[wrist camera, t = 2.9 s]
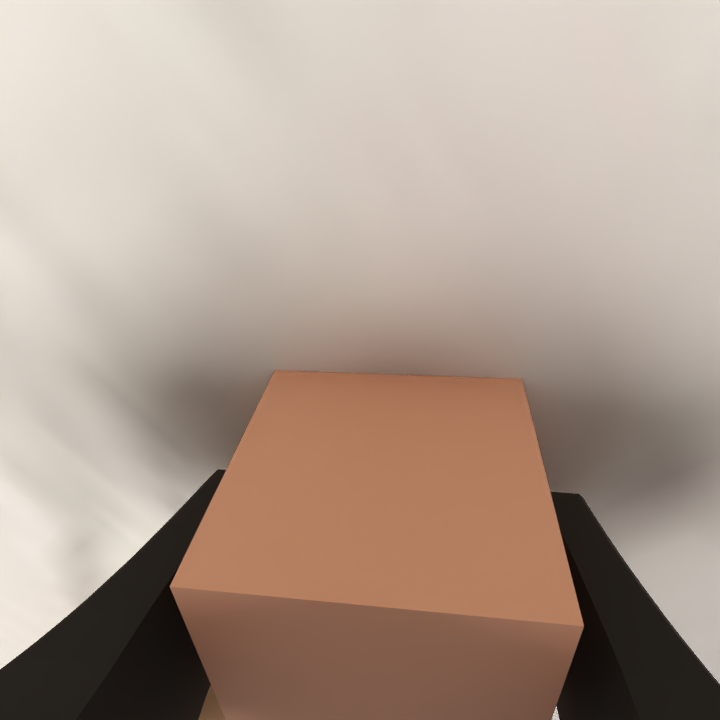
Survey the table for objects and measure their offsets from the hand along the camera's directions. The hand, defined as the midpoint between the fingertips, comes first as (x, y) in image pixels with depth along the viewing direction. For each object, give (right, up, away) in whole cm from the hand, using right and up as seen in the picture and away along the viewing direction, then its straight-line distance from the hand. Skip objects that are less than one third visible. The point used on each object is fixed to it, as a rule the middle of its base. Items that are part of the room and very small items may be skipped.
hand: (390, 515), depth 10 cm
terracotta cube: (0, +1, +1) cm, 2 cm away
